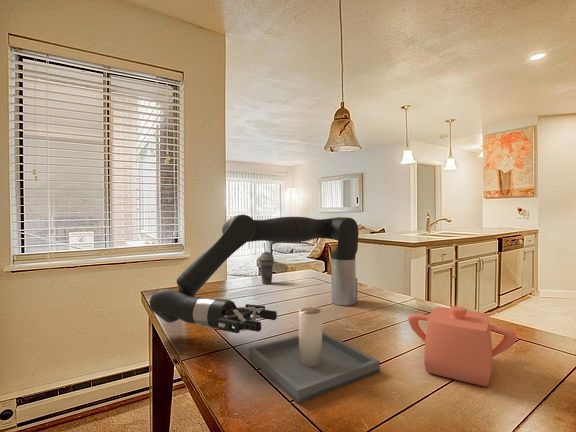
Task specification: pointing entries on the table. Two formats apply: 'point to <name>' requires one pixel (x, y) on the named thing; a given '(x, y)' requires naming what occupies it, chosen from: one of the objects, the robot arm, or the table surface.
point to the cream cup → (310, 336)
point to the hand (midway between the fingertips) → (268, 321)
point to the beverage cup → (266, 266)
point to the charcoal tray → (312, 380)
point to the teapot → (460, 343)
